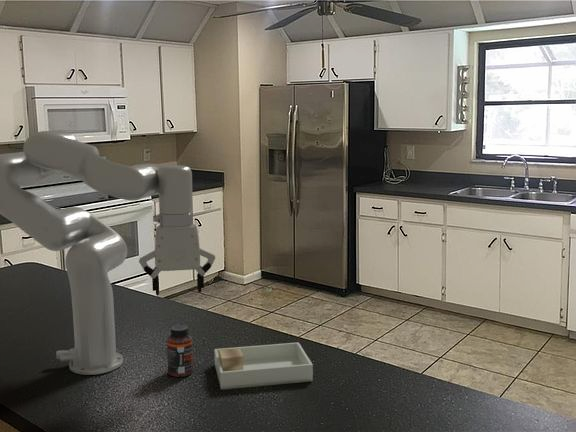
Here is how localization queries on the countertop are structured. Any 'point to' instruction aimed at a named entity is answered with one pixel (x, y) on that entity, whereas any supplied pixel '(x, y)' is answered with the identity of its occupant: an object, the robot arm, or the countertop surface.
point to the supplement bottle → (180, 352)
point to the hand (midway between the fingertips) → (178, 292)
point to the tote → (267, 366)
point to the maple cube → (231, 359)
